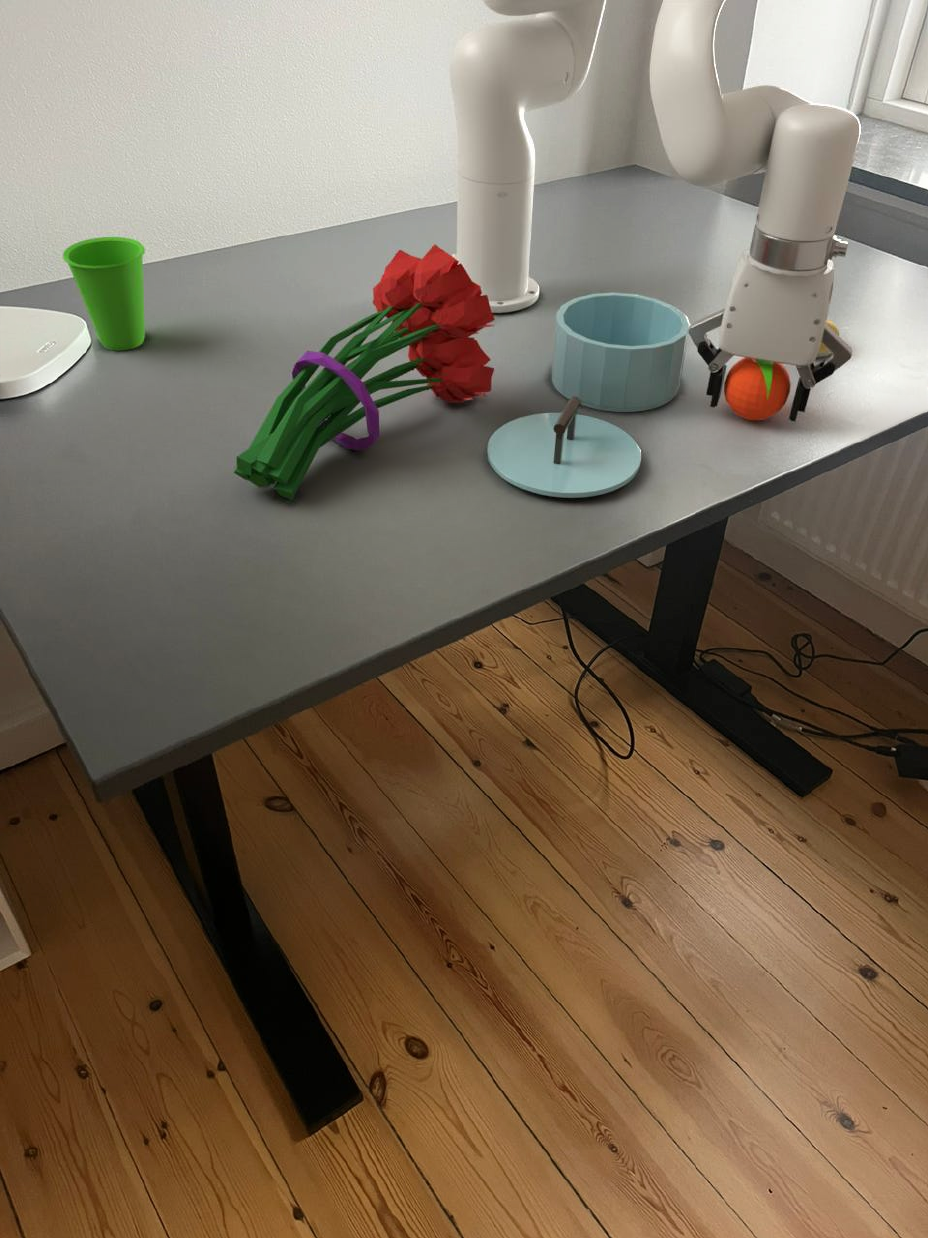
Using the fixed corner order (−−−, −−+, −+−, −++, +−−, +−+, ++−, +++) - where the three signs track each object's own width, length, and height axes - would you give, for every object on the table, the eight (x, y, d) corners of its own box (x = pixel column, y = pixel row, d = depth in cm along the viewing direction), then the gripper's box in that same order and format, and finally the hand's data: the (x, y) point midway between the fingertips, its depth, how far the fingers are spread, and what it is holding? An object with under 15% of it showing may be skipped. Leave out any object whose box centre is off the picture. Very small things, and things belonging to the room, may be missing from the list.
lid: (465, 484, 100) (467, 432, 96) (513, 411, 111) (515, 362, 107) (620, 516, 96) (628, 464, 92) (653, 438, 107) (661, 388, 103)
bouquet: (225, 518, 105) (407, 363, 119) (340, 581, 98) (521, 407, 111) (159, 362, 90) (377, 203, 104) (290, 421, 82) (506, 242, 96)
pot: (536, 398, 113) (540, 335, 108) (570, 344, 124) (575, 284, 119) (665, 422, 110) (675, 358, 105) (688, 364, 120) (699, 303, 116)
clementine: (791, 437, 108) (807, 376, 103) (726, 436, 108) (739, 375, 103) (775, 401, 114) (789, 342, 109) (713, 399, 114) (725, 340, 109)
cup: (176, 341, 123) (160, 250, 115) (110, 365, 117) (89, 272, 110) (134, 319, 127) (116, 230, 120) (69, 341, 122) (46, 250, 115)
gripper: (884, 246, 99) (838, 407, 111) (707, 222, 103) (680, 379, 115) (882, 274, 94) (833, 440, 105) (694, 247, 98) (667, 410, 109)
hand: (753, 407), depth 110 cm, fingers open, 7 cm apart
